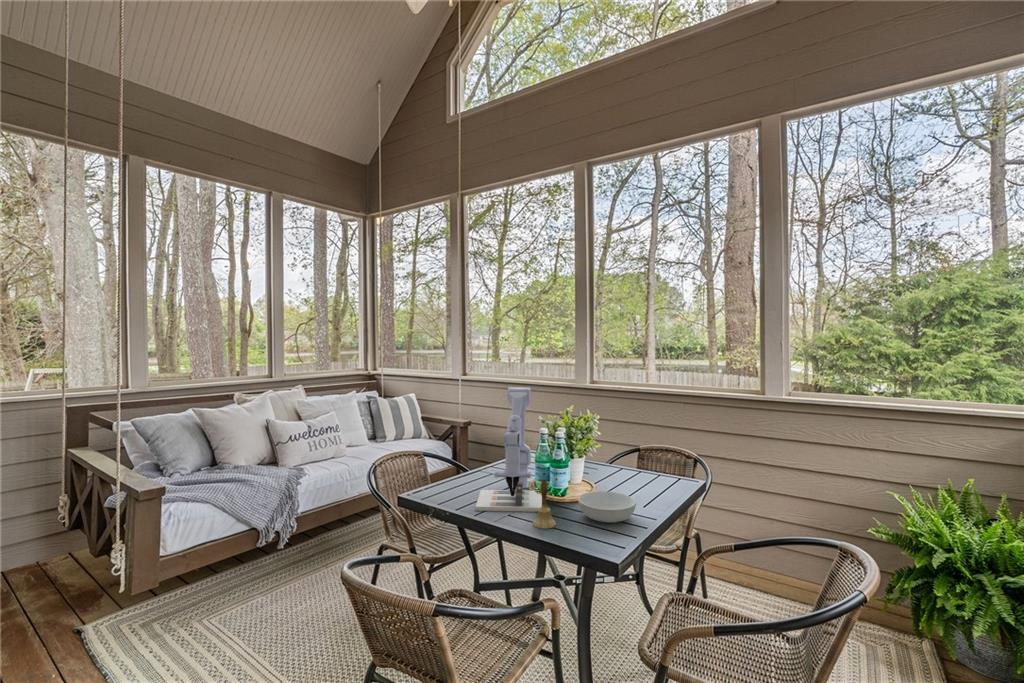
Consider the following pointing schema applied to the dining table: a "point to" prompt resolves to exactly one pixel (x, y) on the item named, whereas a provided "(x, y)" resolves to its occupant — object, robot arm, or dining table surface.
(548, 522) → the hand bell
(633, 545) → the dining table surface
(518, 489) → the breaker
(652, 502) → the dining table surface
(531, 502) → the panel
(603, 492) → the serving bowl
